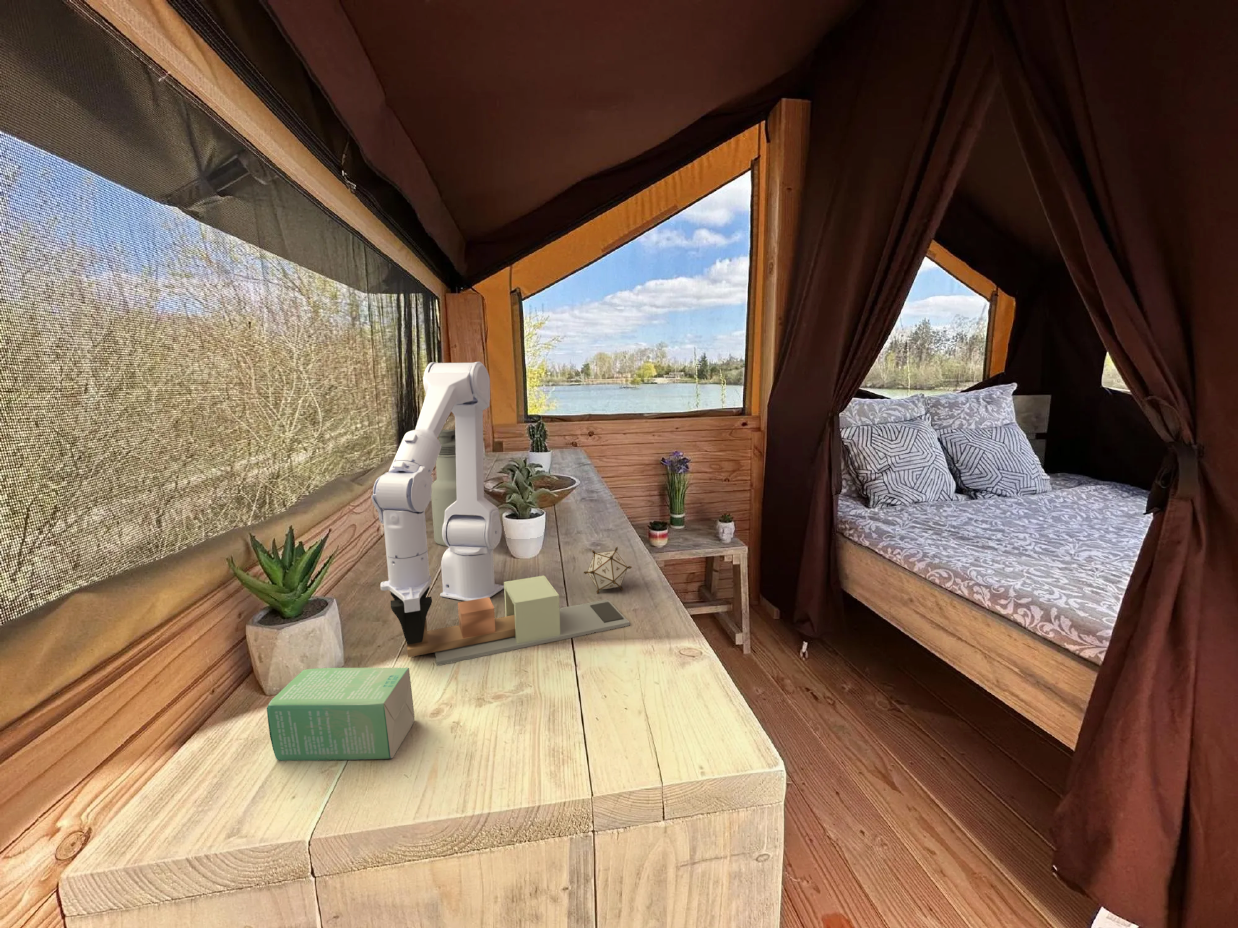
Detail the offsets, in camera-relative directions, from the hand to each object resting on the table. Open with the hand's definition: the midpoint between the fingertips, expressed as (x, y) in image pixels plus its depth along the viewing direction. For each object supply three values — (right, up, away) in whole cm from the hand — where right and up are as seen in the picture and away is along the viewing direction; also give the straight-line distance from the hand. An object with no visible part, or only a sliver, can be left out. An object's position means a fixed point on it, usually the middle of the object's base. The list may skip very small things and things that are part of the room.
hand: (414, 636), depth 83 cm
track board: (+17, -1, +7) cm, 18 cm away
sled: (+9, -2, +4) cm, 10 cm away
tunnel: (+17, -1, +7) cm, 18 cm away
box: (-1, -7, -18) cm, 20 cm away
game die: (+29, +2, +24) cm, 38 cm away
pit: (+29, 0, +12) cm, 32 cm away
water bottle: (-10, +7, +54) cm, 56 cm away
